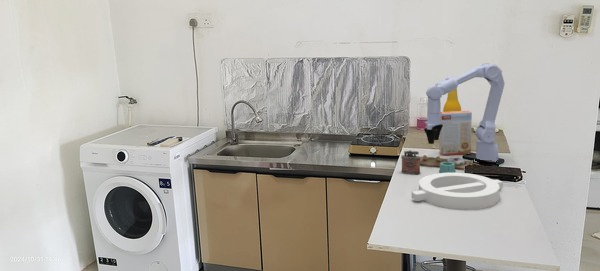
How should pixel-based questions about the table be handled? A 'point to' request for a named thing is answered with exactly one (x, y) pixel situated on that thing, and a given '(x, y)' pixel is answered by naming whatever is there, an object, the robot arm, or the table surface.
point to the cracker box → (455, 133)
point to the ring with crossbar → (458, 190)
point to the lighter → (410, 163)
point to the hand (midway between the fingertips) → (433, 141)
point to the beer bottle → (452, 102)
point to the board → (436, 161)
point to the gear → (447, 167)
